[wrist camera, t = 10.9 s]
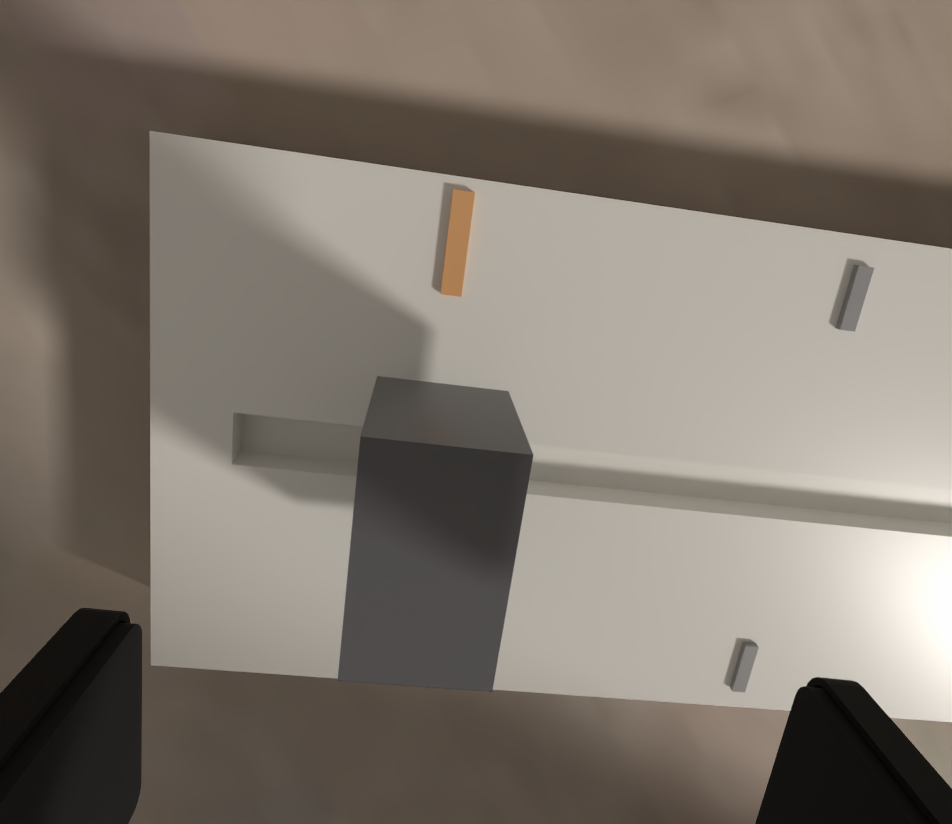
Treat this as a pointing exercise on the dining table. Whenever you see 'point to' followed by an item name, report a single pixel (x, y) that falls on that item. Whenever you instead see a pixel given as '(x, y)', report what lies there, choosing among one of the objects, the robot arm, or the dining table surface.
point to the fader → (433, 535)
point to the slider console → (556, 425)
